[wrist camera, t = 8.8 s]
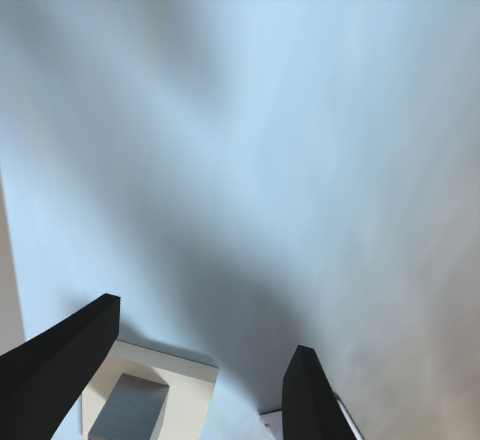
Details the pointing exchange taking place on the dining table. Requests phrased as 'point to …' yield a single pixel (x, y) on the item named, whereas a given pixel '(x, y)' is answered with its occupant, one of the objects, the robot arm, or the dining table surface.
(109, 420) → the grey hollow block
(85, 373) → the robot arm
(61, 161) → the dining table surface
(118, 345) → the housing base
